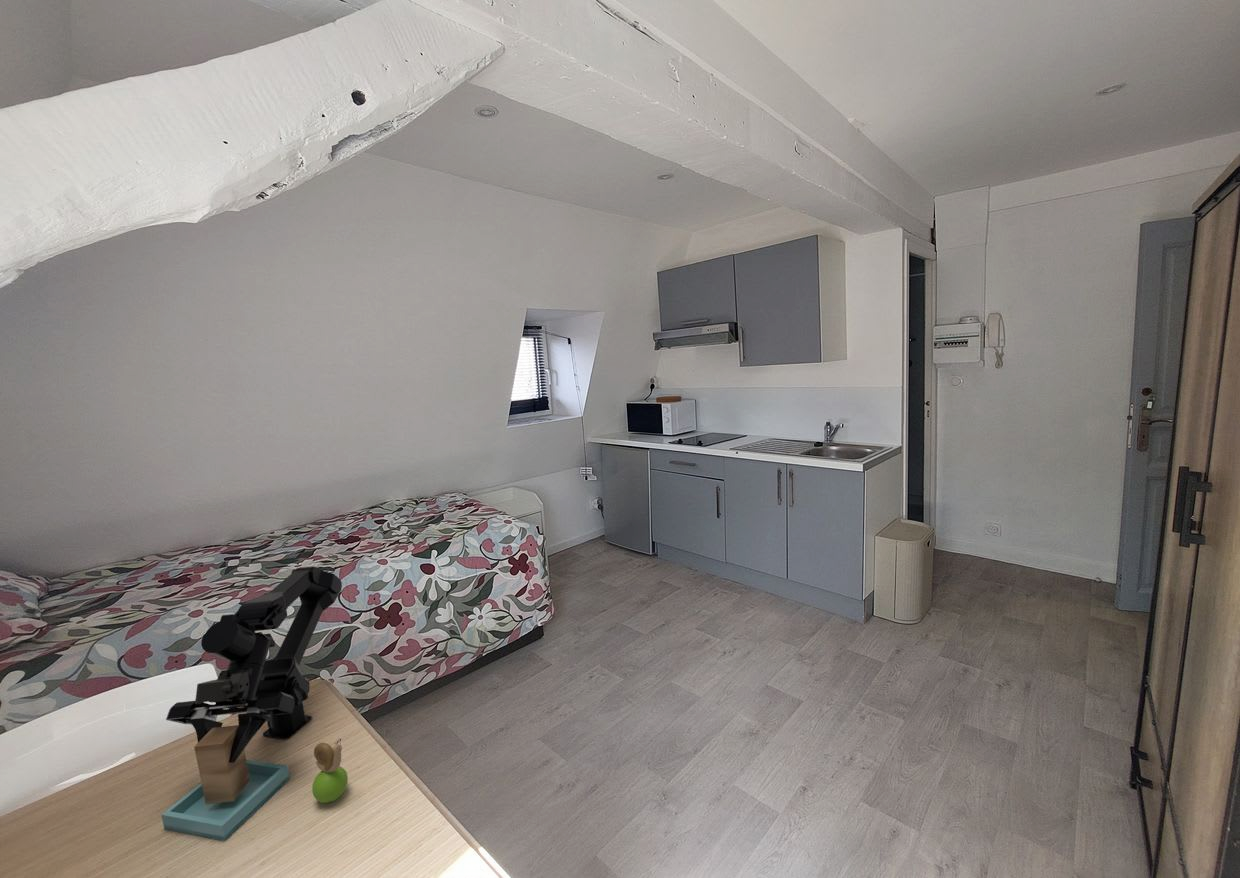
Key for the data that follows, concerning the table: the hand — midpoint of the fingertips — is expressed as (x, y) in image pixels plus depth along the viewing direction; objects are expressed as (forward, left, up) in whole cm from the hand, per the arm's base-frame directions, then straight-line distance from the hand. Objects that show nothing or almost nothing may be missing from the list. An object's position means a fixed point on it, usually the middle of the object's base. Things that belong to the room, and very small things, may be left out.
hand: (216, 764), depth 88 cm
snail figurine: (-18, -5, -9) cm, 20 cm away
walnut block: (0, -1, -7) cm, 7 cm away
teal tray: (0, -1, -9) cm, 9 cm away
